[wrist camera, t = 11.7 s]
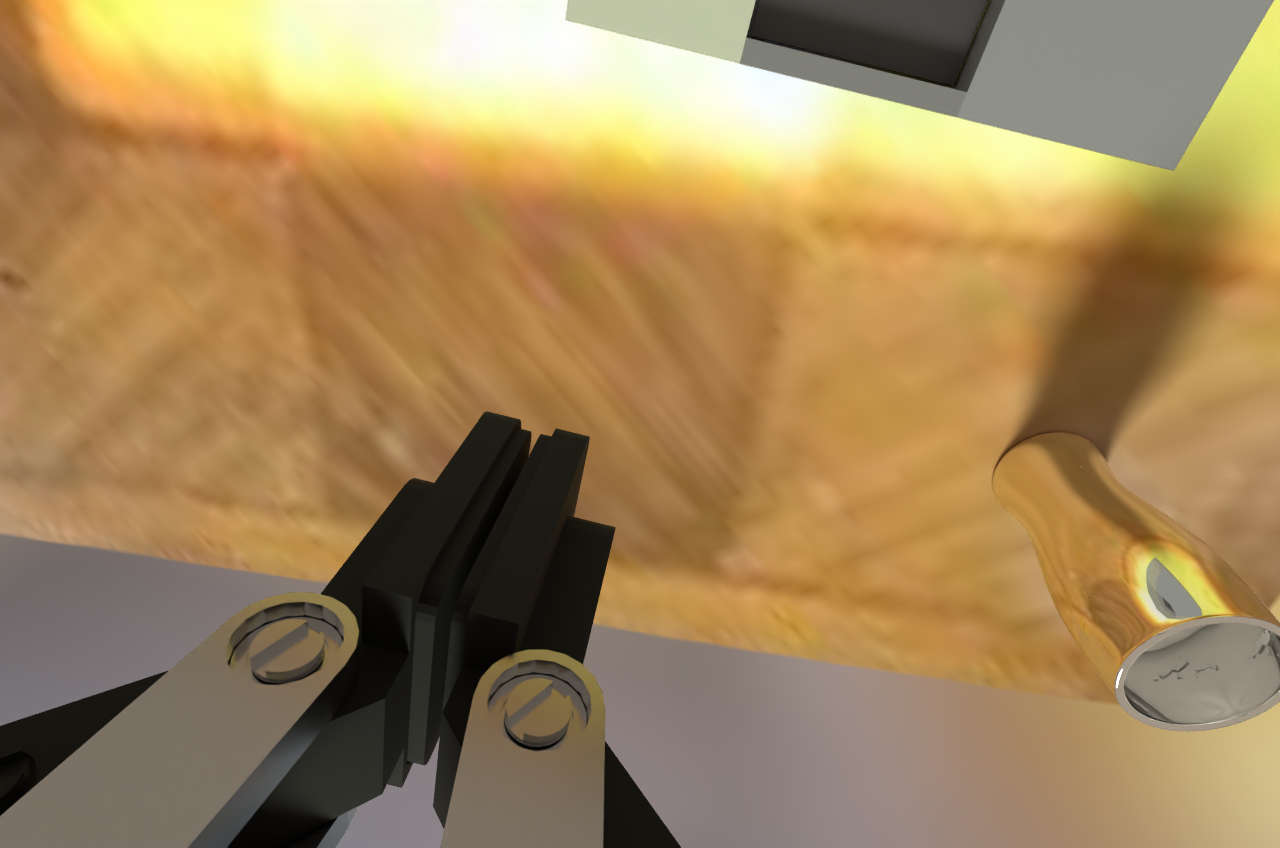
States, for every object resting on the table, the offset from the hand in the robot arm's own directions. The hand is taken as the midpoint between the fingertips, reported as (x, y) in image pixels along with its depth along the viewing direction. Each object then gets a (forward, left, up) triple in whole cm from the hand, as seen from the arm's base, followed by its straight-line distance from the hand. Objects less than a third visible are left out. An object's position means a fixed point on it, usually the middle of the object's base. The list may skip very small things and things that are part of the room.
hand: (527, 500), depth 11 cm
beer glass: (+26, -10, -27) cm, 39 cm away
